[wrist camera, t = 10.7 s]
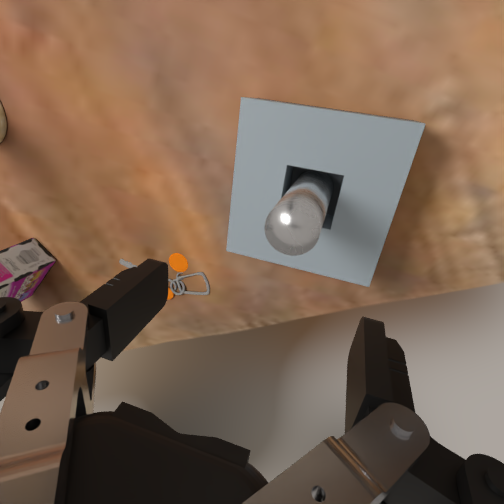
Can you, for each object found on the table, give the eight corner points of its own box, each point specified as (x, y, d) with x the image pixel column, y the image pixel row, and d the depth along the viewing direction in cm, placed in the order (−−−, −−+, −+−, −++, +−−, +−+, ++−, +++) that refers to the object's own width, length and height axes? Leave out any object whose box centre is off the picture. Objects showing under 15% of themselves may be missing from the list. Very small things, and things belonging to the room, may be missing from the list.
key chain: (200, 248, 39) (197, 251, 38) (214, 299, 42) (212, 302, 41) (118, 255, 44) (114, 257, 43) (136, 300, 46) (132, 303, 45)
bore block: (258, 98, 30) (241, 97, 26) (414, 120, 27) (425, 123, 23) (242, 233, 36) (226, 250, 32) (367, 263, 33) (369, 286, 29)
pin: (299, 165, 30) (268, 197, 20) (337, 172, 30) (325, 209, 19) (292, 201, 32) (260, 248, 22) (328, 209, 31) (313, 261, 21)
